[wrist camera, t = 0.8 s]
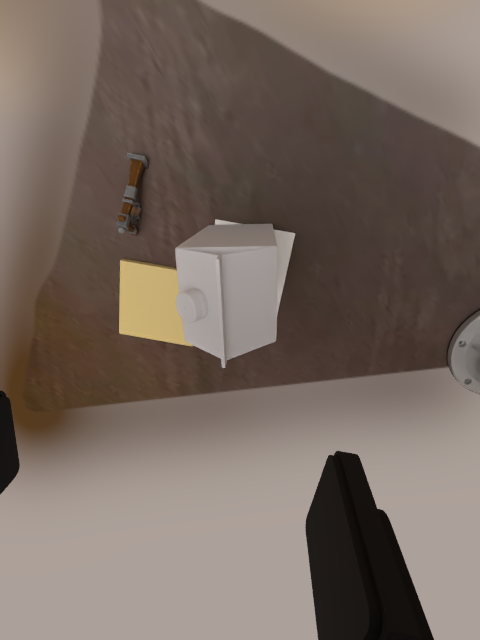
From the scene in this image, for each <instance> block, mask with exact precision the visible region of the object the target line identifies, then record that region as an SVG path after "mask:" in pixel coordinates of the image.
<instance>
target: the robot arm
mask: <svg viewBox="0 0 480 640" xmlns="http://www.w3.org/2000/svg"><path fill="white" fill-rule="evenodd" d="M447 359H448V365H449V369H450V371H451V373H452V375H453V376H454V377H455V379H456V380H457V381H458V382H459V383H460V384H461V385H462V386H463V387H465V388H466V389H468V390H470V391H472V392H475V393H477V394H480V310H479V311H478V312H476V313H475V314H473V315H472V316H471V317H469V318H468V319H467V320H466V321H465V322H464V323H463V324H462V325H461V326H460V328H459V329H458V330H457V331H456V333H455V334H454V336H453V338H452V340H451V342H450V346H449V349H448V358H447ZM18 470H19V458H18V451H17V445H16V437H15V431H14V425H13V417H12V410H11V404H10V400H9V398H7V397H6V394H5V393H4V392H3V391H0V494H1V493H2V492H3V491H4V490H5V488H6V487H7V486H8V485H9V484H10V483H11V481H12V480H13V479H14V478H15V476H16V475H17V473H18ZM306 537H307V546H308V554H309V563H310V572H311V580H312V589H313V598H314V606H315V615H316V624H317V632H318V640H434V638H433V636H432V633H431V630H430V628H429V625H428V623H427V620H426V617H425V614H424V612H423V609H422V606H421V603H420V601H419V598H418V595H417V593H416V590H415V587H414V585H413V582H412V579H411V577H410V574H409V571H408V569H407V566H406V564H405V561H404V558H403V555H402V552H401V550H400V547H399V544H398V542H397V539H396V536H395V534H394V531H393V528H392V525H391V523H390V521H389V518H388V516H387V514H386V513H385V512H384V511H383V510H380V509H377V507H376V504H375V501H374V498H373V495H372V492H371V489H370V487H369V484H368V481H367V478H366V475H365V472H364V469H363V466H362V463H361V461H360V458H359V456H358V455H356V454H352V453H346V452H341V451H336V453H335V454H334V456H333V455H329V456H328V458H327V461H326V464H325V467H324V469H323V472H322V476H321V478H320V481H319V484H318V486H317V489H316V492H315V495H314V499H313V501H312V504H311V507H310V510H309V512H308V515H307V519H306Z"/></svg>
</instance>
